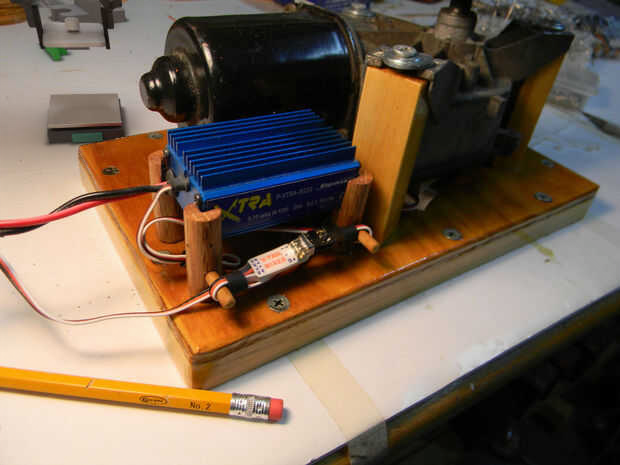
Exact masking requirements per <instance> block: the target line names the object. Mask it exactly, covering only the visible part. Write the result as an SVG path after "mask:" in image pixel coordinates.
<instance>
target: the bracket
mask: <svg viewBox="0 0 620 465" xmlns="http://www.w3.org/2000/svg"><path fill="white" fill-rule="evenodd" d="M100 7H103V5H102V4H101V3H100V1H99V0H73V3H66V4H56V5H50V6H49V9H50V14H51V19H52V20H53V21H55V22H59V23H65V18H68V17H74V18H77V19H78V20H79V23H99V24H101V25H103V24H102V17H101V10H100ZM126 18H127V17H126V10H125V8H123V6H122V7H120V8H115V9H114V10H113V20H114V24H115V23H124V22H127V20H126Z"/></svg>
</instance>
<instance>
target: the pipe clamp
mask: <svg viewBox="0 0 620 465" xmlns="http://www.w3.org/2000/svg"><path fill="white" fill-rule="evenodd" d="M45 51H46V52H47V53H48V54H49V55H50V56H51V57H52V58H53V59H54V61H61V60H62V59H61V56H65V55H69V54H68V50H65V48H64V47H46V49H45Z"/></svg>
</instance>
